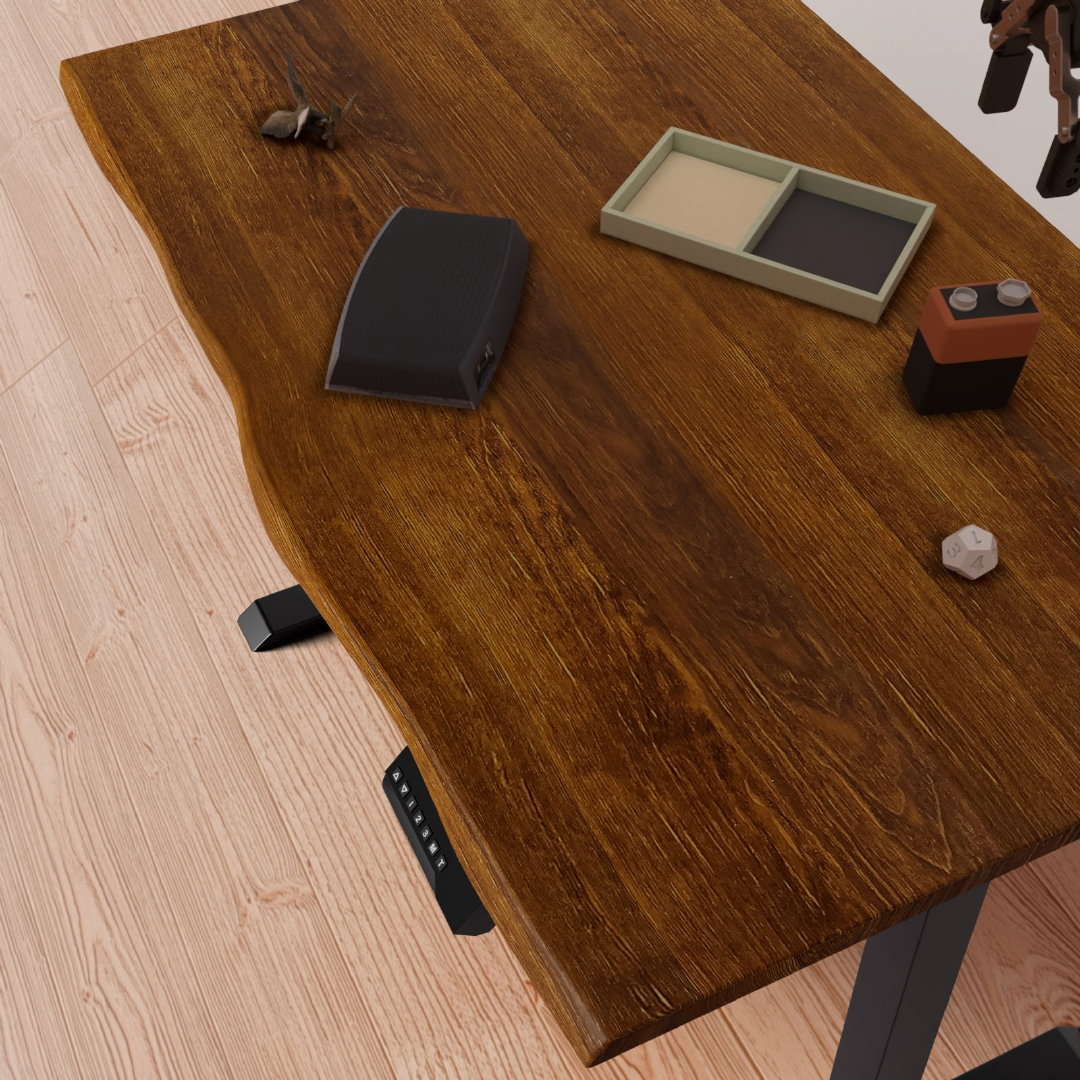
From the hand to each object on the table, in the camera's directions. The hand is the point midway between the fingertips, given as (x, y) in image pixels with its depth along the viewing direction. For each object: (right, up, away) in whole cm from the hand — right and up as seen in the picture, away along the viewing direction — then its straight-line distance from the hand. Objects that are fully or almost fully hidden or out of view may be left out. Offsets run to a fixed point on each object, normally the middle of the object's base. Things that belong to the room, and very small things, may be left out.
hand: (1023, 150), depth 68 cm
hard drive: (-37, -6, +24) cm, 44 cm away
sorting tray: (-10, +3, +29) cm, 31 cm away
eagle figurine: (-50, +14, +39) cm, 65 cm away
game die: (-1, -25, +8) cm, 26 cm away
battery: (+2, -12, +18) cm, 22 cm away
